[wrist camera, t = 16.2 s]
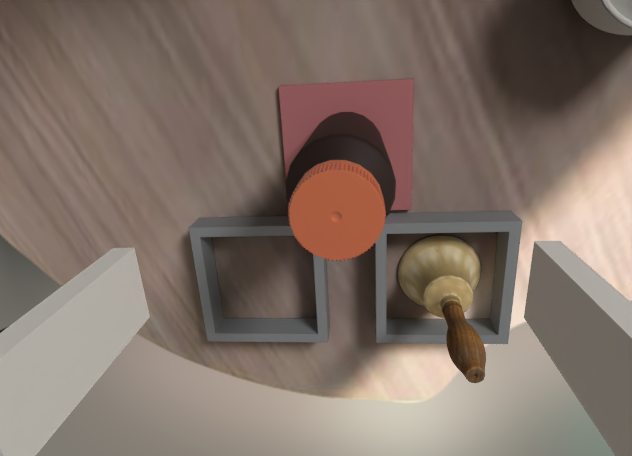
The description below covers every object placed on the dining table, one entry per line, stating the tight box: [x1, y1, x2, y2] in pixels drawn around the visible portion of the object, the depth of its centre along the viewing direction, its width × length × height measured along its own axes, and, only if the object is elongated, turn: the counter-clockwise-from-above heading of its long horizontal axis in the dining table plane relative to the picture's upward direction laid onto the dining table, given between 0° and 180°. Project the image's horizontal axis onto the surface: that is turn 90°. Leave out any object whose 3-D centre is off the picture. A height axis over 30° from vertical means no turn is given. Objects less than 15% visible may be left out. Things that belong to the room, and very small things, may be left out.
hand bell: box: [398, 235, 486, 383], centre depth 36 cm, size 8×8×16 cm
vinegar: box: [286, 112, 396, 261], centre depth 30 cm, size 7×7×20 cm
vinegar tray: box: [189, 216, 330, 342], centre depth 44 cm, size 13×13×3 cm
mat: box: [279, 79, 414, 210], centre depth 40 cm, size 12×12×1 cm
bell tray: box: [375, 211, 522, 344], centre depth 42 cm, size 13×13×3 cm
